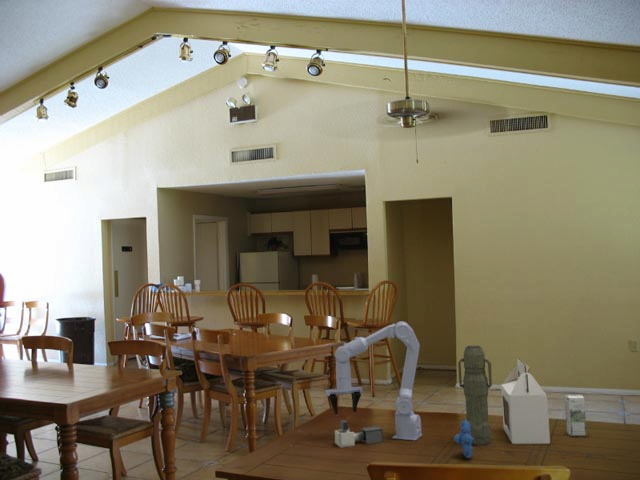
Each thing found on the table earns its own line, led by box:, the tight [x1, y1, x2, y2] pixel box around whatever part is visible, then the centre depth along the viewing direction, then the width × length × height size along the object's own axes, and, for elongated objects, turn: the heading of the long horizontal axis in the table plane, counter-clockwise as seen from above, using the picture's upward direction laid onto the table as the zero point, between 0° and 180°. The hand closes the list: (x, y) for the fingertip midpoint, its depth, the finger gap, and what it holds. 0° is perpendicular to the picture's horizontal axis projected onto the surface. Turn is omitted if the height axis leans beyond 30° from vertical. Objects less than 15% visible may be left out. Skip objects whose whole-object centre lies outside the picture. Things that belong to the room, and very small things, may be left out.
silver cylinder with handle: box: [339, 419, 364, 442], centre depth 238 cm, size 9×4×8 cm, turn 106°
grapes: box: [453, 419, 474, 459], centre depth 216 cm, size 12×7×12 cm, turn 170°
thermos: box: [457, 345, 493, 446], centre depth 233 cm, size 9×12×35 cm
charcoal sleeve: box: [361, 425, 384, 445], centre depth 240 cm, size 6×5×5 cm
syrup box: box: [564, 394, 588, 437], centre depth 237 cm, size 6×6×14 cm
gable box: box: [500, 358, 551, 445], centre depth 238 cm, size 22×13×28 cm, turn 172°
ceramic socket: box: [334, 428, 356, 448], centre depth 237 cm, size 6×6×5 cm
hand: (345, 412), depth 246 cm, fingers open, 7 cm apart
